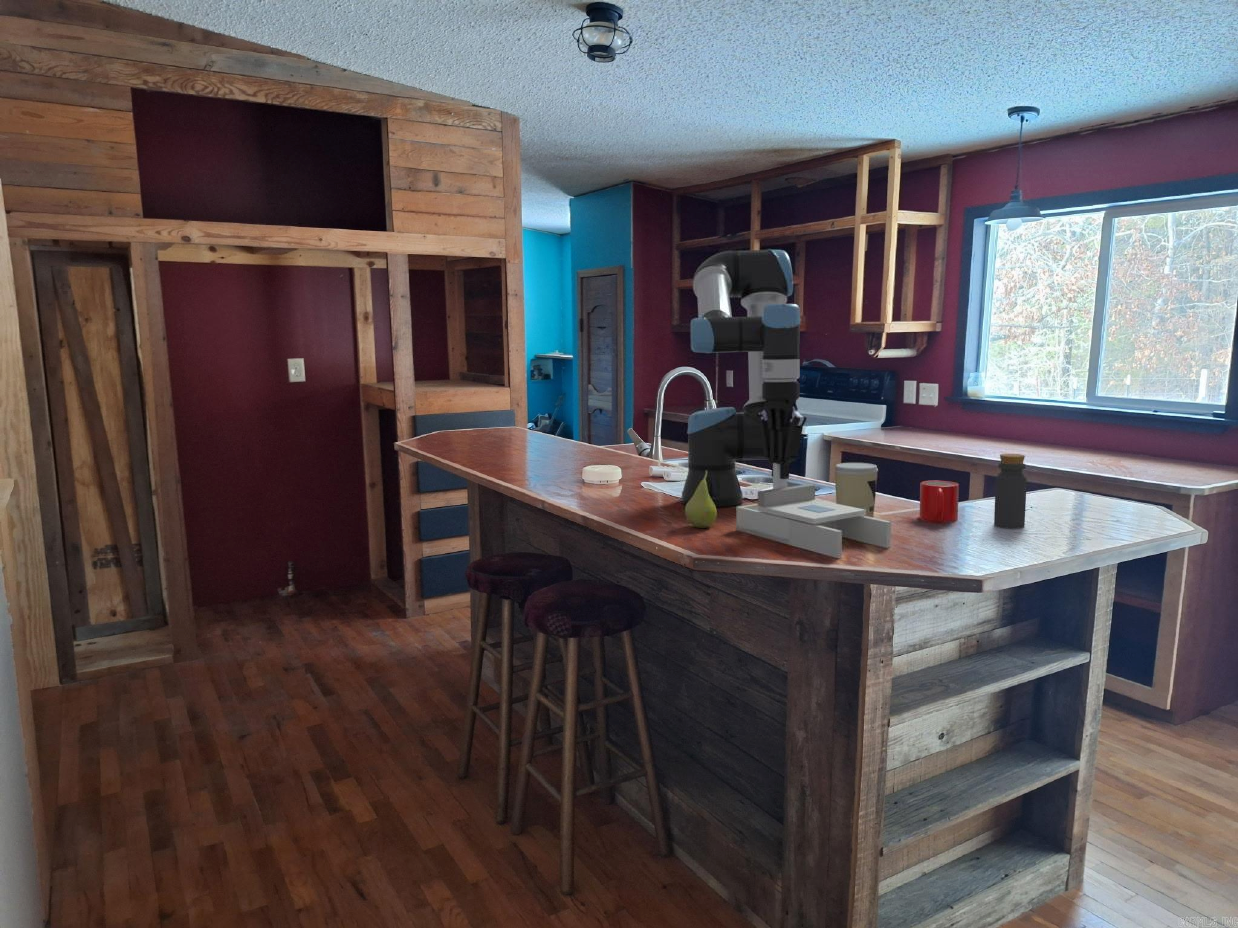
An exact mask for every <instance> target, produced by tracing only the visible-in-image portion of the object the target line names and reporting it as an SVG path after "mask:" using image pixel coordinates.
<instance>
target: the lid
mask: <svg viewBox="0 0 1238 928" xmlns="http://www.w3.org/2000/svg"><path fill="white" fill-rule="evenodd" d="M757 504H758V511H761V512H765V513H769V514H774V515H778V516H782V517H786V518H790V519H794V520H799V521H803V522H807V523H811V524H817V523H823V522H829V521H834V520H840V519H845V518H851V517H857V516H862V515H866V510H864V509H860V508H855V507H850V506H845V505H840V504H836V503H835V502H830V501H824V500H820V499H816V485H815V484H811V483H807V484H800V485H792V486H788V487H785V488H778V489H773V488H772V489H765V490H759V491H757Z"/></svg>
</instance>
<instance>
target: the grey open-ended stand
mask: <svg viewBox="0 0 1238 928" xmlns="http://www.w3.org/2000/svg"><path fill="white" fill-rule="evenodd" d="M891 525H892V522H891V521H890V520H886V519H882V518H881V519H880V518H877V517H876V518H875V517H873V518H872V517H867V516H857V517H851V518H845V519H840V520H834V521H829V522H823V523H817V524H811V523H807V522H803V521H799V520H794V519H790V518H786V517H782V516H778V515H774V514H769V513H765V512H761V511H758V503H754V504H748V505H740V506H736V531H739V532H742V533H746V534H750V535H752V536H757V537H760V538H763V539H768V540H771V541H774V542H778V543H781V544H785V545H788V546H792V547H796V548H799V549H804V550H805V551H806V550H807V551H810V552H814V553H818V554H822V555H824V556H827V557H831V558H835V559H840V558H842V555H843V554H842V549H843V548H842V547H843V544H842V543H843V538H845V539H849V540H853V541H858V542H861V543H864V544H868V545H873V546H876V547H877V546H878V547H881V548H885V549H887V548H888V549H889V548H891V535H892V534H891V532H892V526H891Z"/></svg>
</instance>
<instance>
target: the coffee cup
mask: <svg viewBox="0 0 1238 928" xmlns="http://www.w3.org/2000/svg"><path fill="white" fill-rule="evenodd" d="M833 470H834V471H833V472H834V486H835V501H836V503H835V504H840V505H845V506H850V507H855V508H860V509H864V510H866V515H862V516H867V517H872V518H874V514H875V513H874V512H875V504H876V494H877V493H876V491H877V483H878V482H877V481H878V480H877V479H878V472H879V469H878V466H877V465H876V464H873V463H867V462H841V463H837V464H836V465H835V467H834V468H833Z"/></svg>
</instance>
